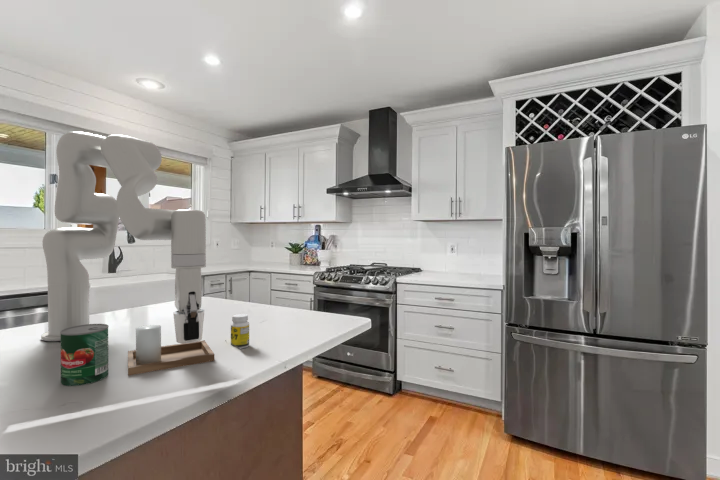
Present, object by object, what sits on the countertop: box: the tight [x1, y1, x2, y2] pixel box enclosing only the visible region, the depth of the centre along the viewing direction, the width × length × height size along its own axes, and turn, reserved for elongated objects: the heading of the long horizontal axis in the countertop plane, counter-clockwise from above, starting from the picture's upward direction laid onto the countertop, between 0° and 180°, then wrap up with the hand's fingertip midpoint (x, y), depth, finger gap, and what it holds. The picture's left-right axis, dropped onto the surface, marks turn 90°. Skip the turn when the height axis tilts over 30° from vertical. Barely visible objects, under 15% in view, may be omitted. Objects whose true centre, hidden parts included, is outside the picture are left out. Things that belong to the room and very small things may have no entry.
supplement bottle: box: [230, 313, 250, 350], centre depth 99 cm, size 5×5×8 cm
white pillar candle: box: [135, 324, 162, 365], centre depth 85 cm, size 5×5×8 cm
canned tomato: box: [59, 323, 109, 387], centre depth 75 cm, size 8×8×11 cm
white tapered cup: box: [173, 308, 205, 344], centre depth 89 cm, size 7×7×7 cm
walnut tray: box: [127, 339, 215, 377], centre depth 87 cm, size 13×17×2 cm
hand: (189, 335), depth 89 cm, fingers closed on white tapered cup, 6 cm apart
